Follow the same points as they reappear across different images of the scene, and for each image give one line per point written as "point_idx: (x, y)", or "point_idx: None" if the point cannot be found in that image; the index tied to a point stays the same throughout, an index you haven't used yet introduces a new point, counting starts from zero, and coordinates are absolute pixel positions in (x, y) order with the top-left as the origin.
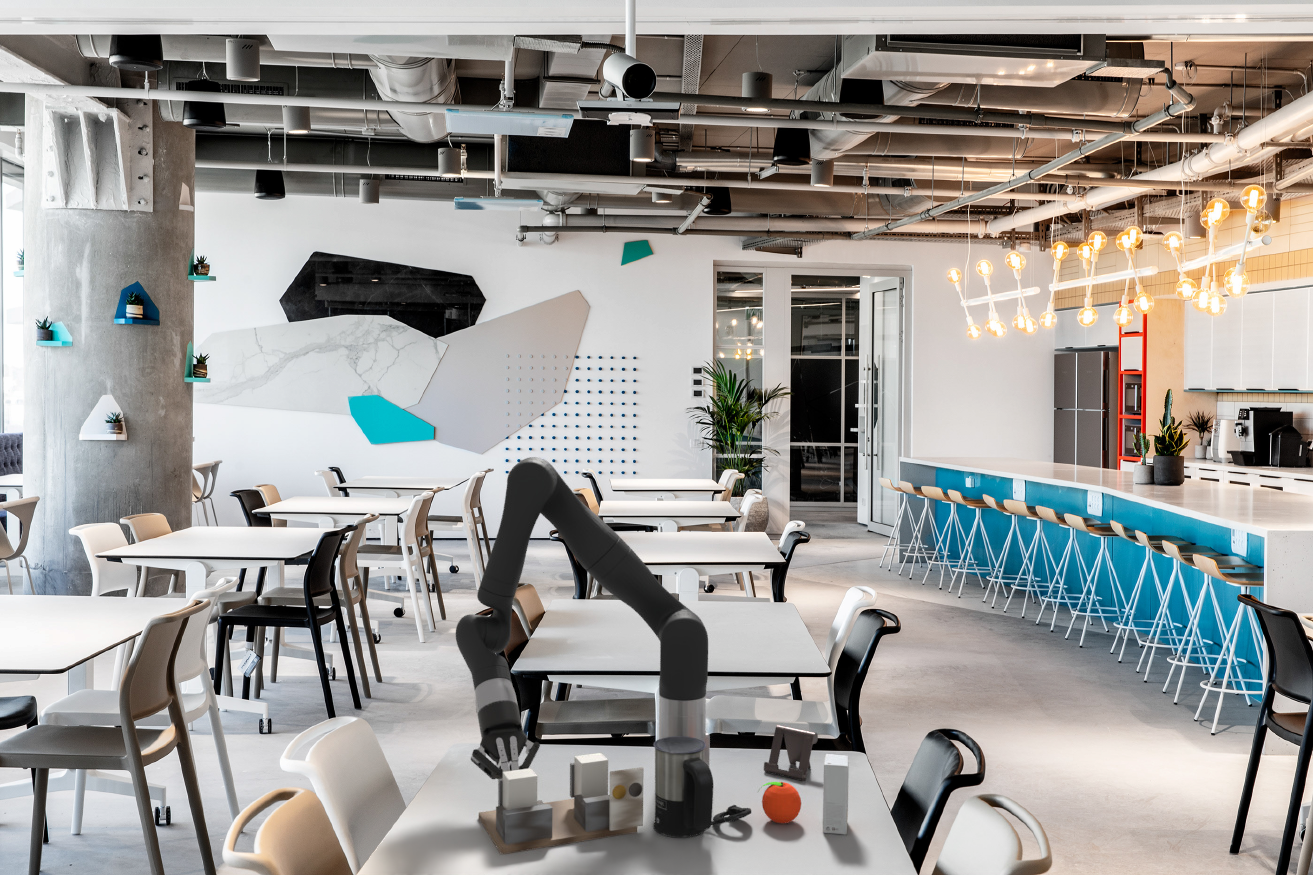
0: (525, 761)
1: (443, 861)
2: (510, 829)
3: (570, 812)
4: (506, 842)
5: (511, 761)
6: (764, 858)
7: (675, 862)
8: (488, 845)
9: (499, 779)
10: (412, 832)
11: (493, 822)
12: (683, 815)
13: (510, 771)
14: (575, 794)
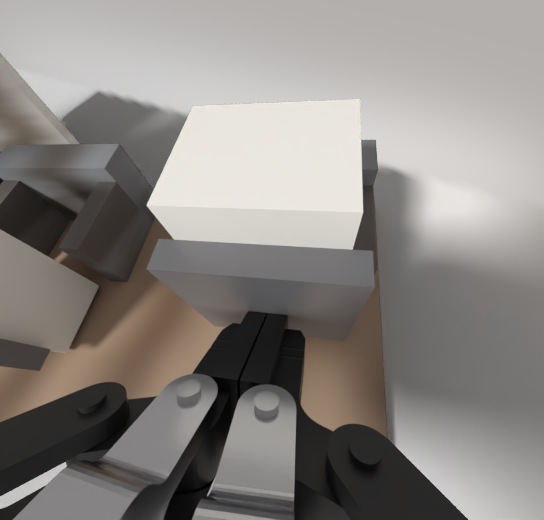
0: (37, 441)
1: (528, 221)
2: None
3: (108, 320)
4: None
5: (158, 493)
6: (39, 90)
7: (125, 105)
8: (392, 259)
9: (368, 274)
10: None
11: (353, 366)
12: None
13: (302, 199)
14: (36, 330)
